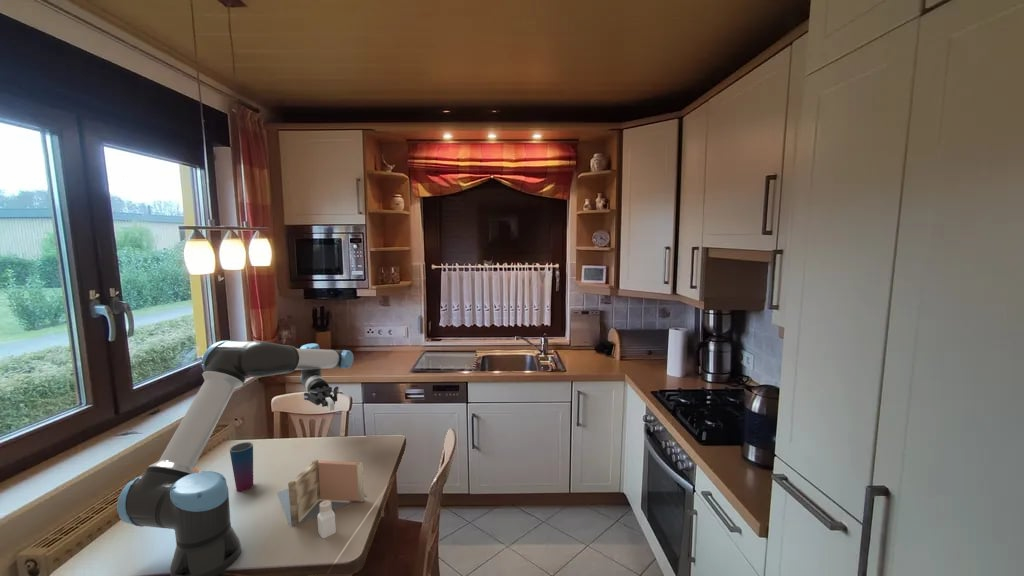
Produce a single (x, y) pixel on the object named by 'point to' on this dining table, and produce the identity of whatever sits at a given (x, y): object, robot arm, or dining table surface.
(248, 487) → the cup
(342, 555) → the dining table surface
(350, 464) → the pink wooden flat board
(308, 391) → the robot arm
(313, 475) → the fixed fence section
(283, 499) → the card
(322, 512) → the salt shaker
